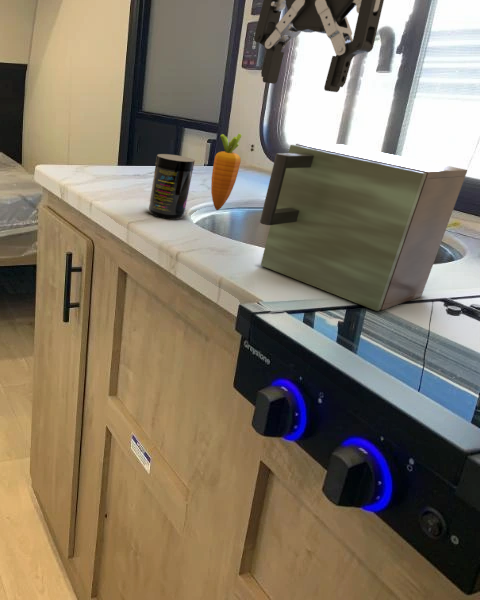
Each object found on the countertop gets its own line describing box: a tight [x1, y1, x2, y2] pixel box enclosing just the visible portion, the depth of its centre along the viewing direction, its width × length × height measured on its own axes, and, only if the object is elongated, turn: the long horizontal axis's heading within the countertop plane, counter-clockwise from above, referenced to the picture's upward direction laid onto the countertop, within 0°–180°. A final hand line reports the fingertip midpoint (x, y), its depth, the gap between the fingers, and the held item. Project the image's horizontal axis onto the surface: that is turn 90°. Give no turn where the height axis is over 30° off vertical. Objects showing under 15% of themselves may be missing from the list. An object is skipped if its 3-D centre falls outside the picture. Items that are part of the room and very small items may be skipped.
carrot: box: [210, 133, 243, 211], centre depth 116 cm, size 5×5×15 cm
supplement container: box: [148, 153, 196, 220], centre depth 108 cm, size 7×7×10 cm
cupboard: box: [295, 143, 468, 311], centre depth 82 cm, size 12×18×18 cm
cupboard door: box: [259, 144, 427, 312], centre depth 76 cm, size 8×18×17 cm, turn 39°
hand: (298, 87), depth 72 cm, fingers open, 8 cm apart
